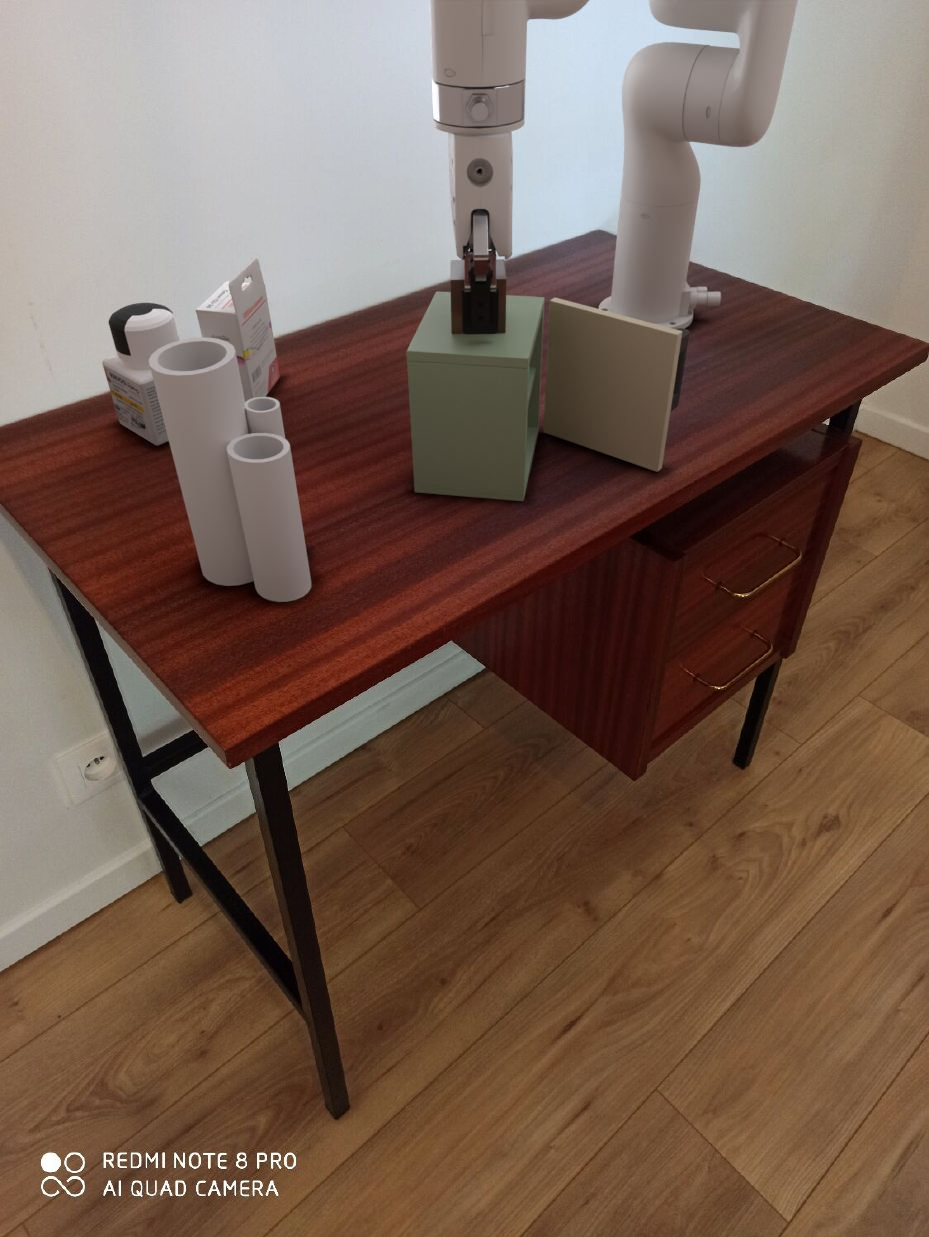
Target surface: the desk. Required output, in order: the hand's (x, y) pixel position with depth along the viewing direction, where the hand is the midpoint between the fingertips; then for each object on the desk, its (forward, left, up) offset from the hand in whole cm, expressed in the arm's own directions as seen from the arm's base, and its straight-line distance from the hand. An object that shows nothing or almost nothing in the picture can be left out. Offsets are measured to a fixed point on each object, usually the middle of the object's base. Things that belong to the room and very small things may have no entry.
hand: (479, 312), depth 85 cm
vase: (+20, +18, -16) cm, 31 cm away
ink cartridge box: (+27, -16, -16) cm, 35 cm away
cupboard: (0, 0, -16) cm, 16 cm away
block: (0, 0, -1) cm, 1 cm away
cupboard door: (-15, -4, -16) cm, 22 cm away
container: (+35, -9, -16) cm, 40 cm away
